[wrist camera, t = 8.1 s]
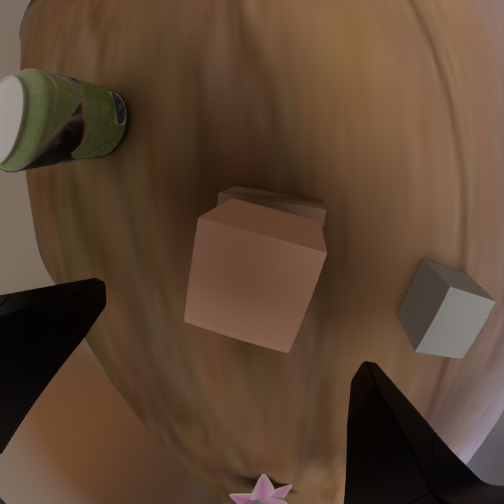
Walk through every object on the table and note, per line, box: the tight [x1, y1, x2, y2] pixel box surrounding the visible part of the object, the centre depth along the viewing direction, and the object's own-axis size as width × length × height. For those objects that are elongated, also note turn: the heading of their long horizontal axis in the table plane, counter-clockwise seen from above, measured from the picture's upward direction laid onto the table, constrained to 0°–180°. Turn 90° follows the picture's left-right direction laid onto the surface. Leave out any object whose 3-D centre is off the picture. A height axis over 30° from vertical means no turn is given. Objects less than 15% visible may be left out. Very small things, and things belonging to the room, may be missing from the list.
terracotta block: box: [184, 198, 327, 353], centre depth 13 cm, size 5×5×5 cm
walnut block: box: [217, 186, 327, 232], centre depth 17 cm, size 6×6×4 cm
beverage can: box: [0, 69, 127, 172], centre depth 13 cm, size 6×7×12 cm
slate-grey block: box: [398, 258, 496, 359], centre depth 16 cm, size 5×5×5 cm
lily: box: [230, 474, 292, 504], centre depth 31 cm, size 12×12×10 cm
